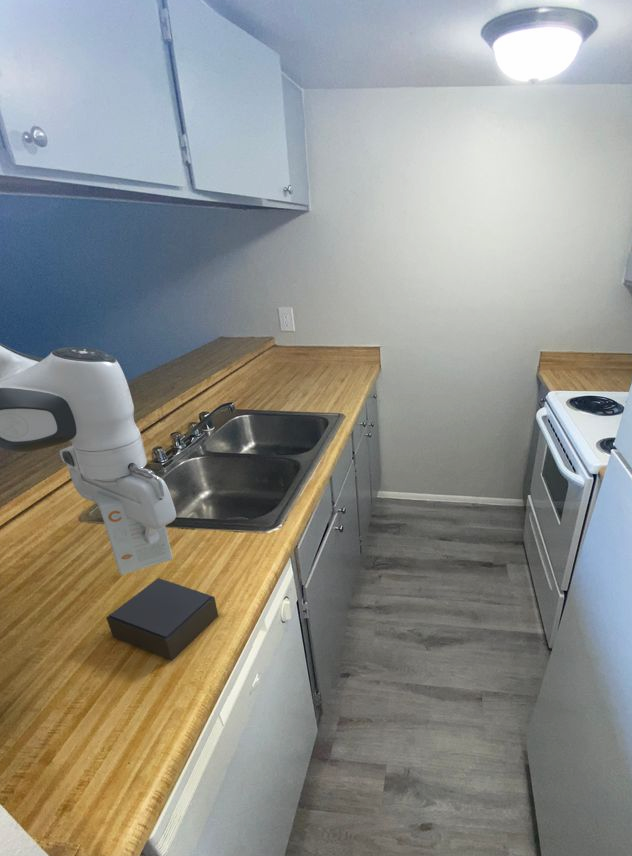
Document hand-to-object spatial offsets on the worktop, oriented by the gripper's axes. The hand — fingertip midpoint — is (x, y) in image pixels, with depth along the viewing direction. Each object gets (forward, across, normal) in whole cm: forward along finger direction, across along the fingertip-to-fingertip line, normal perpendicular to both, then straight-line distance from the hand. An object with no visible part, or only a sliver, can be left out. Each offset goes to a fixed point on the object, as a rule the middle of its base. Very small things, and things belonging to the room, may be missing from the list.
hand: (133, 532), depth 78 cm
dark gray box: (+23, +1, -2) cm, 23 cm away
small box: (+6, 0, 0) cm, 6 cm away
